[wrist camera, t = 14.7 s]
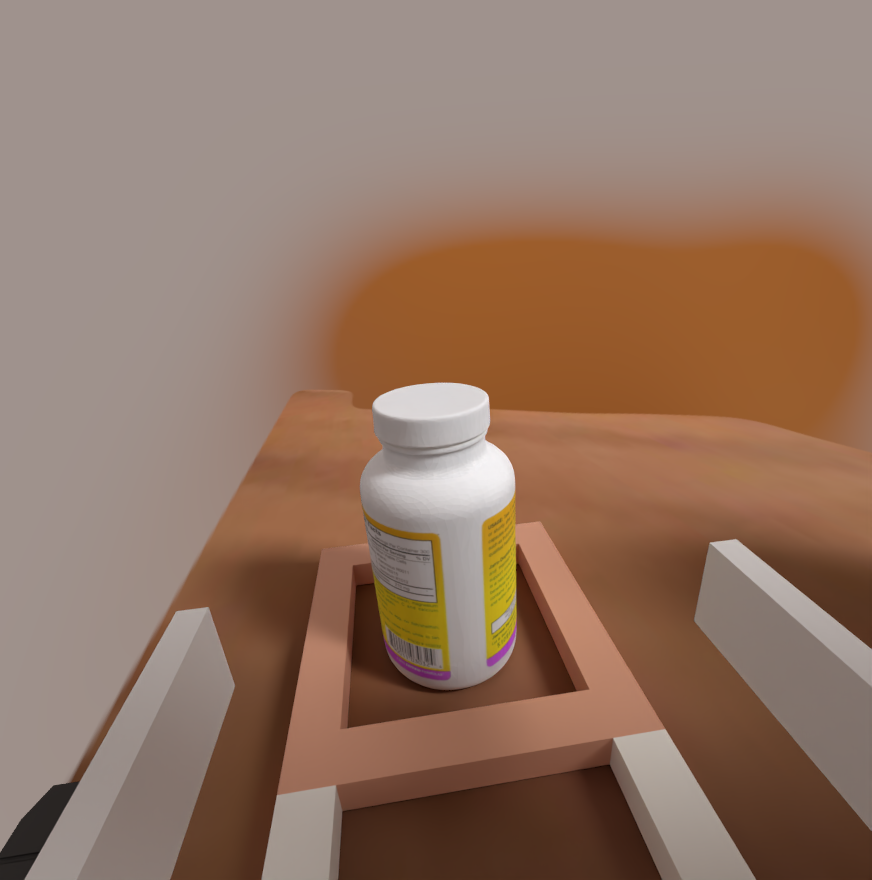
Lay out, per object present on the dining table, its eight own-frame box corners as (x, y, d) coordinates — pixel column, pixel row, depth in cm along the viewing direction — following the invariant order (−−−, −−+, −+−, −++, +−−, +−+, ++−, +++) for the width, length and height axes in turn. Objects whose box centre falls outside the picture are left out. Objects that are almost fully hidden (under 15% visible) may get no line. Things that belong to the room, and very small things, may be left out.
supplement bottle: (493, 583, 27) (488, 369, 22) (537, 680, 21) (544, 413, 16) (379, 605, 26) (346, 385, 21) (390, 712, 20) (348, 440, 15)
